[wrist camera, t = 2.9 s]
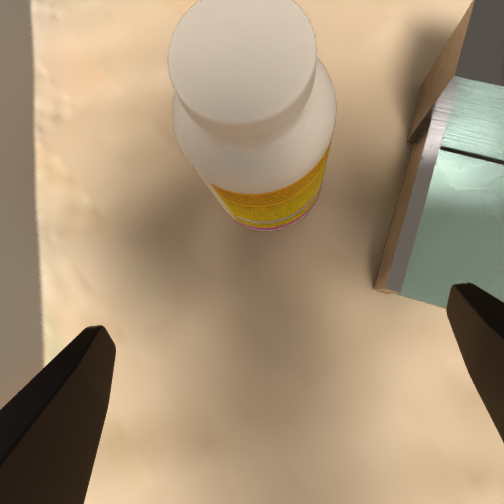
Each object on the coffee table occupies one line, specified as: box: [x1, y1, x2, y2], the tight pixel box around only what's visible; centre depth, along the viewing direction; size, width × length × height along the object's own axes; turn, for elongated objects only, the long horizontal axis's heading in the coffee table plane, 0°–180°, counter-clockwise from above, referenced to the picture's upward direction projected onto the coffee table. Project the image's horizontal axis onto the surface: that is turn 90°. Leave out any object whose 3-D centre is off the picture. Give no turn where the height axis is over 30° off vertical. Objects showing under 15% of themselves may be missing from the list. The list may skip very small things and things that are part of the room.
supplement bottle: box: [168, 0, 337, 231], centre depth 18 cm, size 7×7×13 cm
